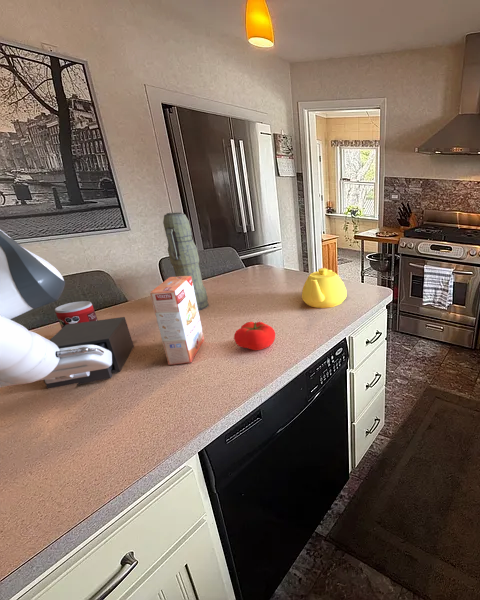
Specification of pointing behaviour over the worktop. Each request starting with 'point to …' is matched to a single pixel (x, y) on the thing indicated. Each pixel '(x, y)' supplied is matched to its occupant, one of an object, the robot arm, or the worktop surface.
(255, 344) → the tomato
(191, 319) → the cracker box
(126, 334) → the small drawer unit
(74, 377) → the drawer
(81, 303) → the canned food
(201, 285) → the thermos
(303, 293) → the teapot
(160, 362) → the worktop surface
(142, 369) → the worktop surface
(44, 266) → the robot arm
